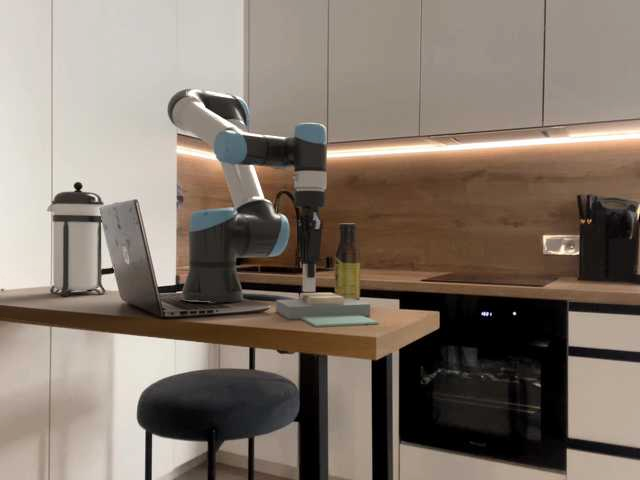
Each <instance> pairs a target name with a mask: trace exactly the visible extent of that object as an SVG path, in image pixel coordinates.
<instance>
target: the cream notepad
mask: <svg viewBox="0 0 640 480" xmlns="http://www.w3.org/2000/svg"><path fill="white" fill-rule="evenodd" d="M299 299H300V300H302V301H304V302H307V303H309V304H311V305H331V304H344V297H342V296H339V295H336V294H335V293H334V292H330V291H329V292H301V293H300V298H299Z"/></svg>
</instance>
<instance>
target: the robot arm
mask: <svg viewBox="0 0 640 480" xmlns="http://www.w3.org/2000/svg"><path fill="white" fill-rule="evenodd" d="M166 109H167V115H168V118H169V120H170V121H171V123H172V125H174V126H175V127H176V128H177V129H179V130H180V131H183V132H187V133H189V132H190V133H191V134H193V135H194V136H196V138H199V140H201V141H203V142H204V143H206V144H207V145H209V147H211V148H213V151H214V152H213V153H214V155H215V156H216V160H217V161H218V162H219V163H220V165H221V169H222V171H223V174H224V178H225V182H226V184H227V188H228V190H229V195H230V198H231V201H232V204H233V207H231V206H230V207H229V206H228V207H218V208H217V207H216V208H209V209H208V208H207V209H200V210H196V211H193V212H192V213H191V214H190V216H189V227H188V232H189V234H188V235H189V236H188V238H189V240H188V242H189V245H188V247H189V248H188V249H189V250H188V255H189V257H188V263H189V264H188V267H189V268H188V272H187V275H186V279H185V281H184V284H183V288H182V289H181V300H182V299H185V300H199V301H210V302H222V303H221V304H224V303H223V302H230V303H236V302H237V303H238V302H240V301H242V300H243V299H244V298H243V296H244V295H243V293H244V291H243V289H242V285H241V281H240V278H239V275H238V272H237V259H238V258H239V259H240V258H241V259H242V258H269V257H277V256H280V255H281V254H282V253H283V252H284V250H286V247H287V245H288V242H289V238H290V223H289V220H288V218H287V216H286V215H285V214H282V213H280V212H278V213H276V210H275V208H274V205H273V203H272V202H271V201H270V200H268V199H266V198H265V195H264V192H263V189H262V186H261V183H260V180H259V178H258V175H257V171H256V169H255V167H264V168H266V167H267V168H268V167H269V168H271V169H273V170H282V171H284V170H287V169H292V168H293V170H294V175H292V177H291V178H292V180H293V181H294V182H293V183H294V187H293V188H294V190H296V191H295V192H293V206H294V207H295V208H301V211H300V215H299V220H297V221H296V224H297V230H298V246H299V260H300V261H301V263H302V293H316V281H317V280H316V278H317V277H316V275H317V274H316V272H317V268H316V267H317V265H316V264H317V262H320V256H321V244H322V235H323V233H322V232H323V227H324V220H323V219H322V220H321V215H320V209H323V208H325V207H326V206H327V193H326V191H325V190H326V189H327V185H328V184H327V183H328V182H327V180H328V178H327V176H328V174H327V162H328V161H327V160H328V159H327V153H328V138H327V128H326V126H325V125H323V124H321V123H316V122H302V123H298V124H296V126H295V127H294V133H293V136H285V137H284V136H277V135H276V136H275V135H267V134H258V133H253V132H252V133H251V132H248V128H249V126H250V120H251V119H250V118H249V117H250V116H251V115H250V114H251V113H250V109H249V107H248V104H247V103H246V101H245V100H244V99H243V98H241V97H240V96H238V95H233V94H232V93H231V94H230V93H222V92H216V91H215V92H214V91H209V90H203V89H198V88H185V89H182V90H180V91H178V92H176V93H174V95H172V96H171V98H170V99H169V101H168V104H167V108H166Z"/></svg>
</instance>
